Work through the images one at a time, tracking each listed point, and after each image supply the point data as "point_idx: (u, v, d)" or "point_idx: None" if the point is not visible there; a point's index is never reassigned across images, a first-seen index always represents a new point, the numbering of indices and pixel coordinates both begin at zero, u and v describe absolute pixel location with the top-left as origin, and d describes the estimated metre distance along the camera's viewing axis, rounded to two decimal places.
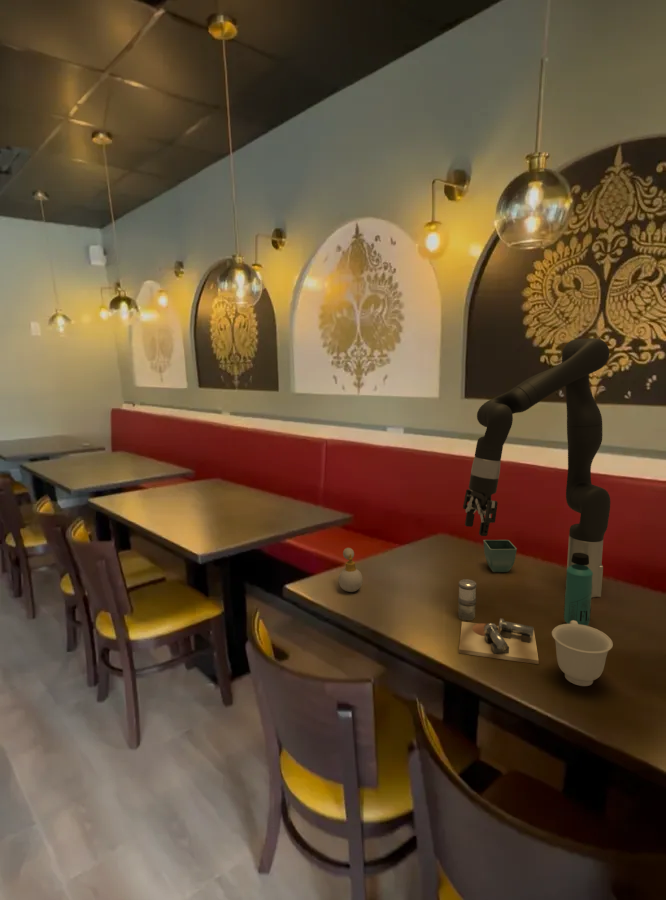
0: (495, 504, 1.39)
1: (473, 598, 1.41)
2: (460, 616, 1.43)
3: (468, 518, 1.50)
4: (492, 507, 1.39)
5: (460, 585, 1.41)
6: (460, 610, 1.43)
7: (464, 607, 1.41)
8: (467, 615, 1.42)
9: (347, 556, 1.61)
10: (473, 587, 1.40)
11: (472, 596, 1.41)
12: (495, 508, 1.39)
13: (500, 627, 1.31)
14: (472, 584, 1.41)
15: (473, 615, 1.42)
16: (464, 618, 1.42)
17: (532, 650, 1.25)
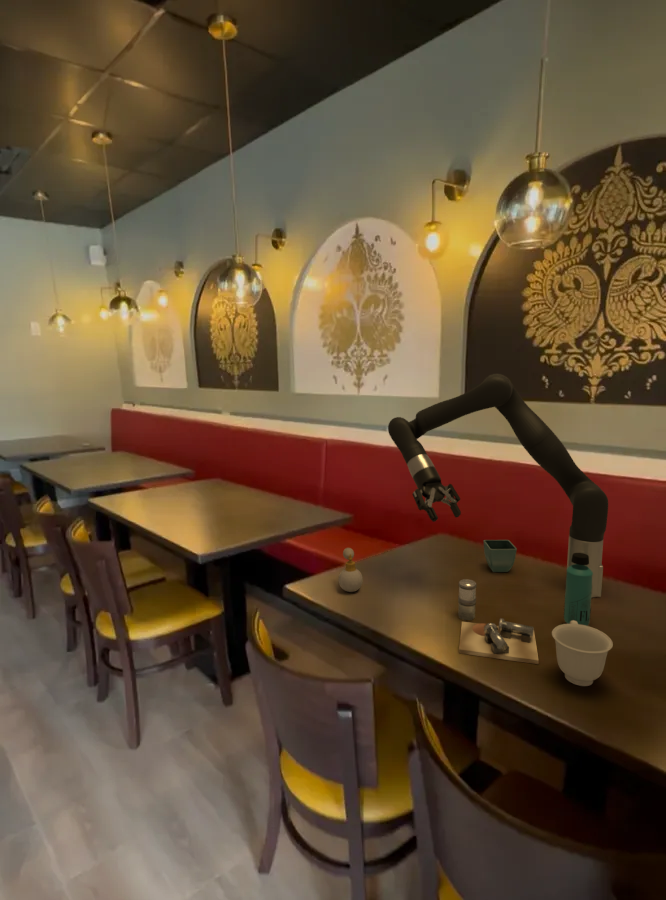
0: (415, 492, 1.53)
1: (473, 598, 1.41)
2: (460, 616, 1.43)
3: (452, 510, 1.56)
4: (415, 496, 1.53)
5: (460, 585, 1.41)
6: (460, 610, 1.43)
7: (464, 607, 1.41)
8: (467, 615, 1.42)
9: (347, 556, 1.61)
10: (473, 587, 1.40)
11: (472, 596, 1.41)
12: (417, 495, 1.52)
13: (500, 627, 1.31)
14: (472, 584, 1.41)
15: (473, 615, 1.42)
16: (464, 618, 1.42)
17: (532, 650, 1.25)
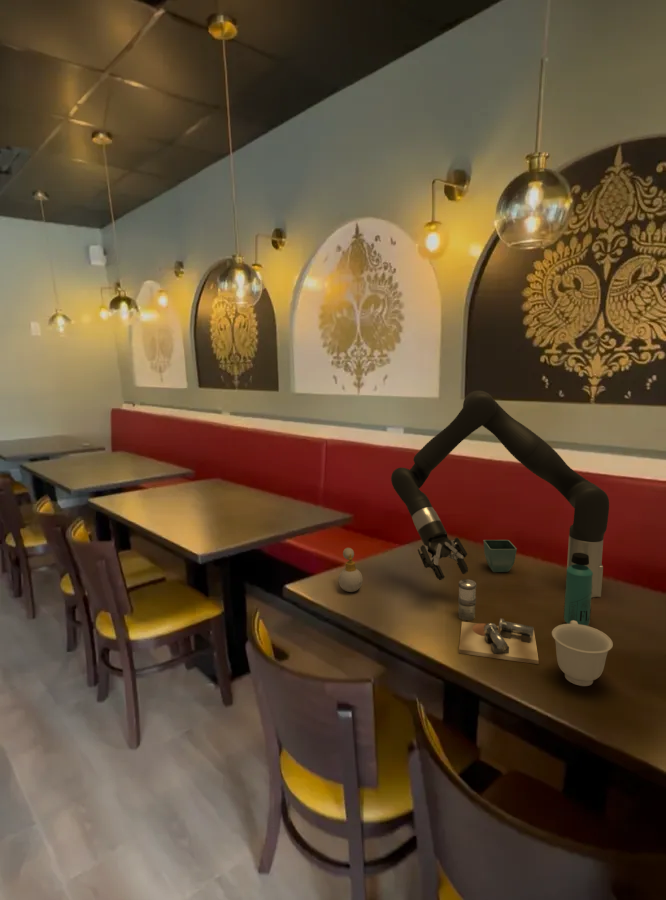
0: (421, 549, 1.48)
1: (473, 598, 1.41)
2: (460, 616, 1.43)
3: (459, 566, 1.50)
4: (421, 553, 1.48)
5: (460, 585, 1.41)
6: (460, 610, 1.43)
7: (464, 607, 1.41)
8: (467, 615, 1.42)
9: (347, 556, 1.61)
10: (473, 587, 1.40)
11: (472, 596, 1.41)
12: (422, 552, 1.47)
13: (500, 627, 1.31)
14: (472, 584, 1.41)
15: (473, 615, 1.42)
16: (464, 618, 1.42)
17: (532, 650, 1.25)
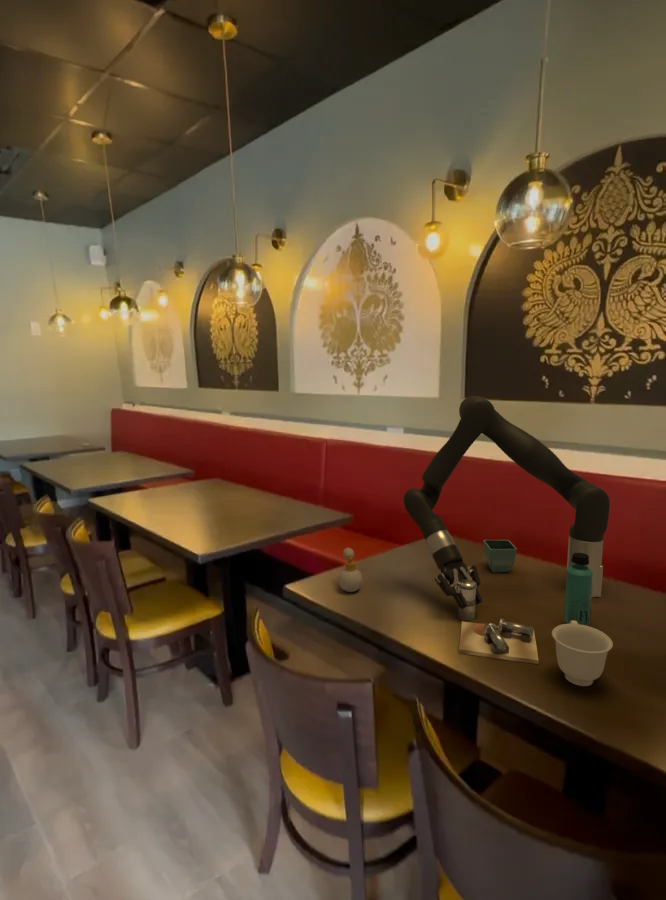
0: (438, 578, 1.43)
1: (473, 598, 1.41)
2: (460, 616, 1.43)
3: None
4: (439, 582, 1.43)
5: (460, 585, 1.41)
6: (460, 610, 1.43)
7: None
8: (467, 615, 1.42)
9: (347, 556, 1.61)
10: (473, 587, 1.40)
11: (472, 596, 1.41)
12: (441, 581, 1.42)
13: (500, 627, 1.31)
14: (472, 584, 1.41)
15: (473, 615, 1.42)
16: (464, 618, 1.42)
17: (532, 650, 1.25)
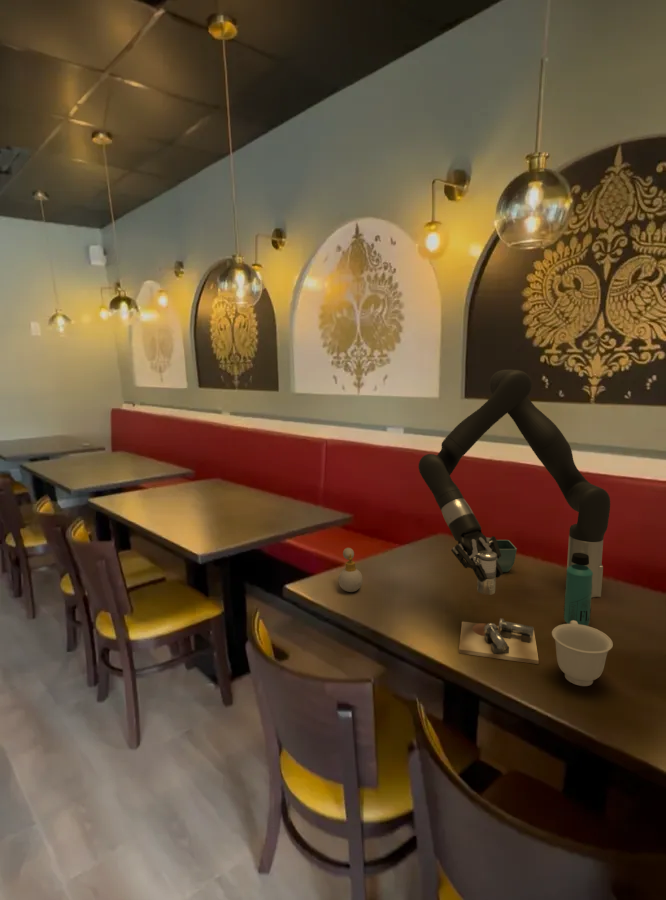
0: (456, 549, 1.32)
1: (493, 570, 1.30)
2: (479, 590, 1.32)
3: None
4: (457, 553, 1.32)
5: (479, 556, 1.31)
6: (479, 583, 1.32)
7: None
8: (487, 589, 1.31)
9: (347, 556, 1.61)
10: (494, 558, 1.29)
11: (492, 568, 1.30)
12: (459, 552, 1.31)
13: (500, 627, 1.31)
14: (493, 555, 1.30)
15: (493, 589, 1.31)
16: (484, 592, 1.31)
17: (532, 650, 1.25)
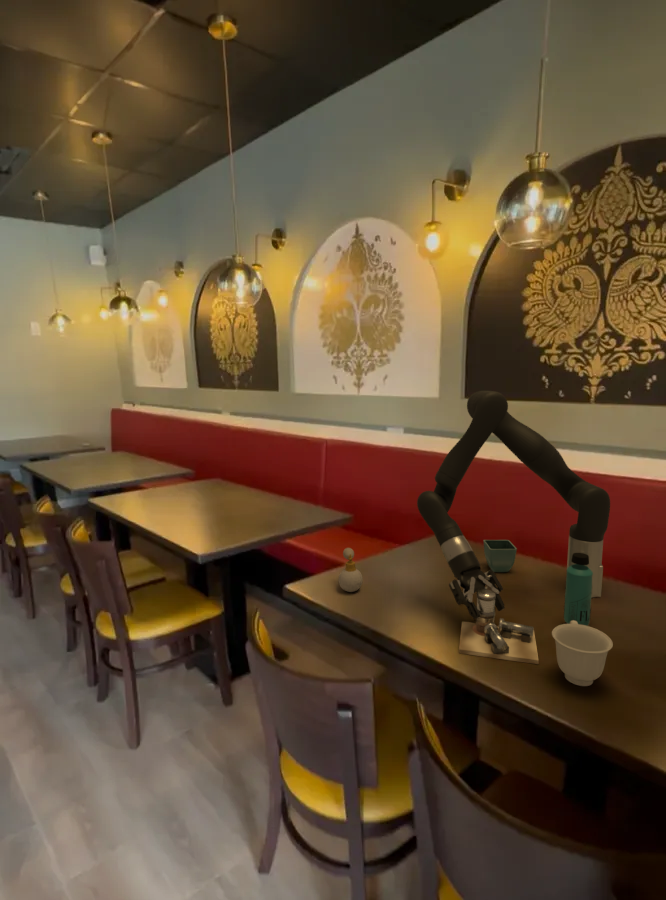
0: (453, 583, 1.34)
1: (492, 610, 1.32)
2: (478, 629, 1.34)
3: None
4: (453, 588, 1.34)
5: (478, 596, 1.32)
6: (478, 622, 1.34)
7: (483, 620, 1.32)
8: None
9: (347, 556, 1.61)
10: (492, 598, 1.31)
11: (491, 608, 1.32)
12: (455, 587, 1.33)
13: (500, 627, 1.31)
14: (492, 595, 1.32)
15: None
16: (482, 631, 1.33)
17: (532, 650, 1.25)
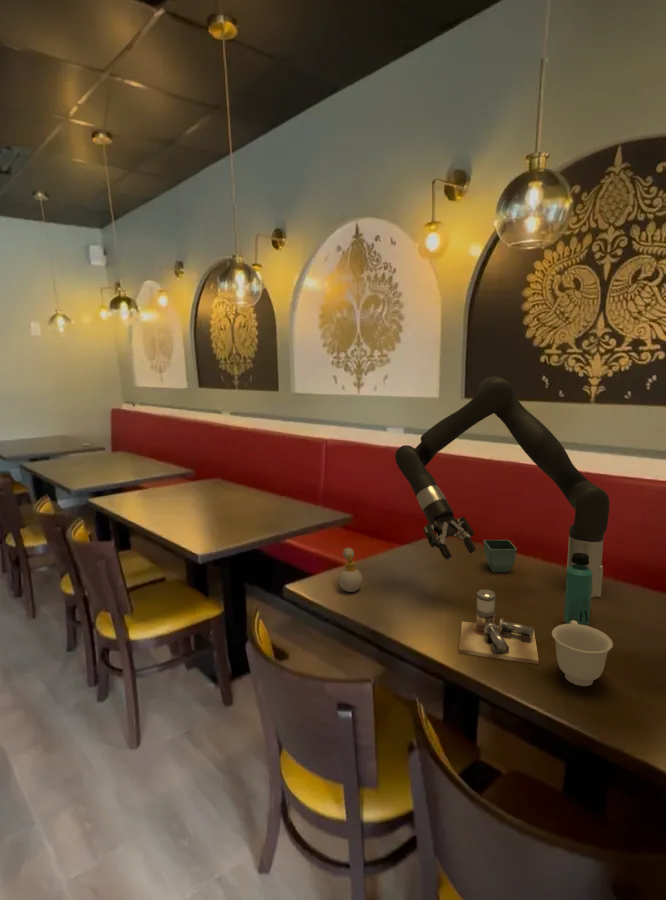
0: (426, 527, 1.44)
1: (492, 610, 1.32)
2: (478, 629, 1.34)
3: (466, 545, 1.46)
4: (427, 531, 1.44)
5: (478, 596, 1.32)
6: (478, 622, 1.34)
7: (483, 620, 1.32)
8: None
9: (347, 556, 1.61)
10: (492, 598, 1.31)
11: (491, 608, 1.32)
12: (428, 531, 1.43)
13: (500, 627, 1.31)
14: (492, 595, 1.32)
15: None
16: (482, 631, 1.33)
17: (532, 650, 1.25)
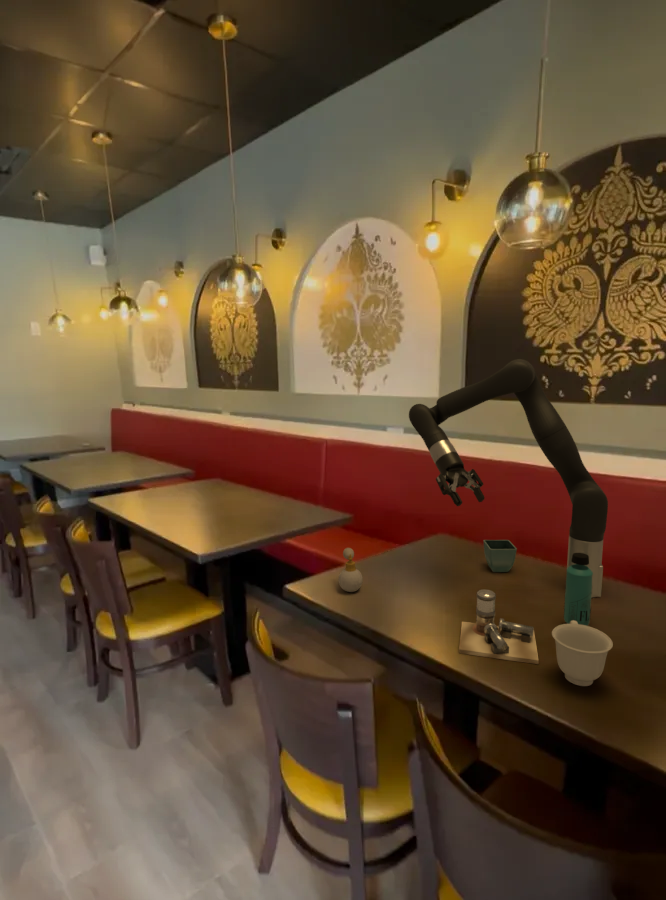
0: (439, 477, 1.53)
1: (492, 610, 1.32)
2: (478, 629, 1.34)
3: (476, 495, 1.56)
4: (439, 481, 1.53)
5: (478, 596, 1.32)
6: (478, 622, 1.34)
7: (483, 620, 1.32)
8: None
9: (347, 556, 1.61)
10: (492, 598, 1.31)
11: (491, 608, 1.32)
12: (441, 480, 1.53)
13: (500, 627, 1.31)
14: (492, 595, 1.32)
15: None
16: (482, 631, 1.33)
17: (532, 650, 1.25)
